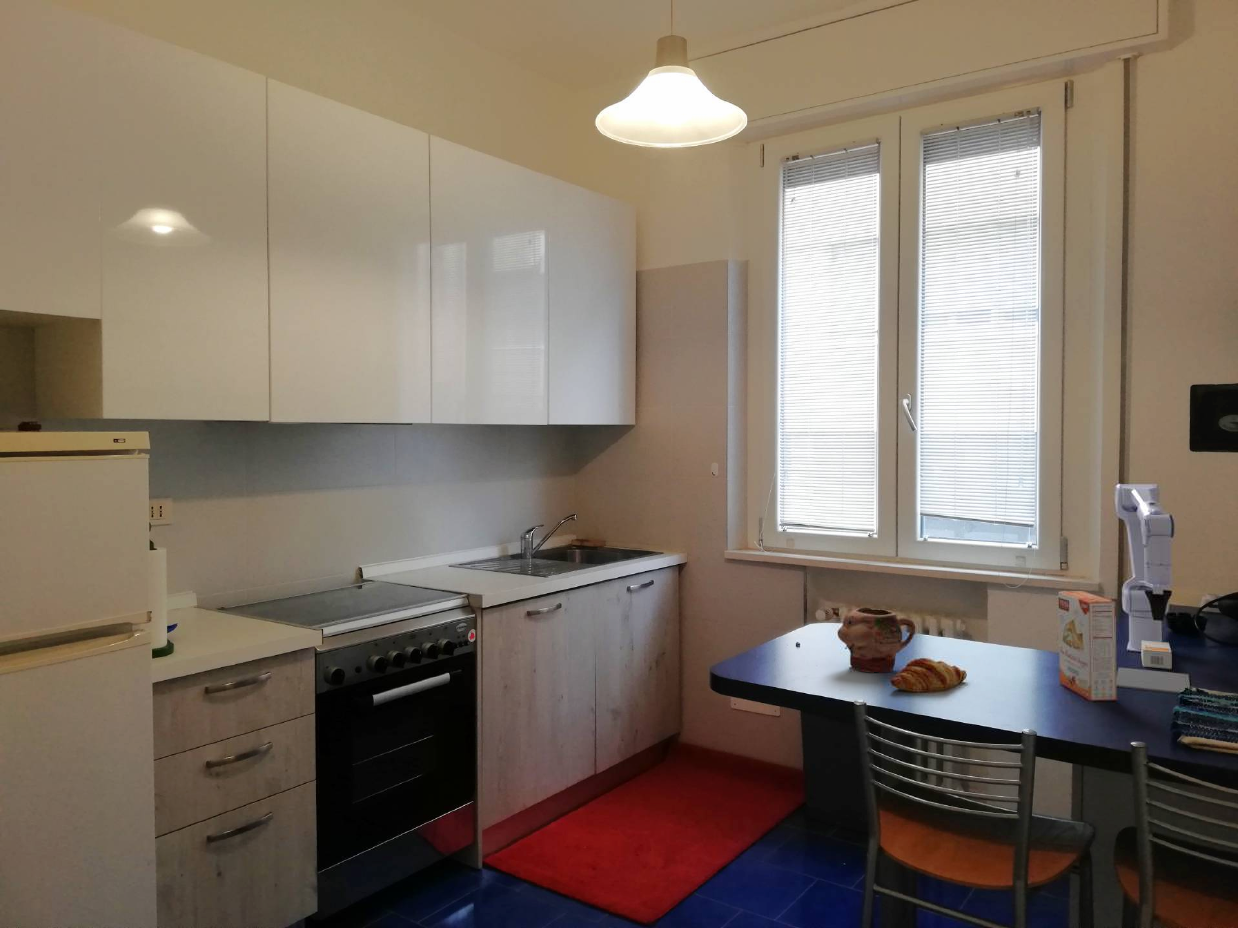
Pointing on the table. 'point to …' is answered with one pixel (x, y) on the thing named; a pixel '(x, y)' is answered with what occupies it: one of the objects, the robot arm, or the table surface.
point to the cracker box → (1087, 645)
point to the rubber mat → (1152, 680)
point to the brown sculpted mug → (874, 638)
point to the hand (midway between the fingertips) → (1158, 620)
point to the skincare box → (1156, 654)
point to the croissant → (928, 676)
